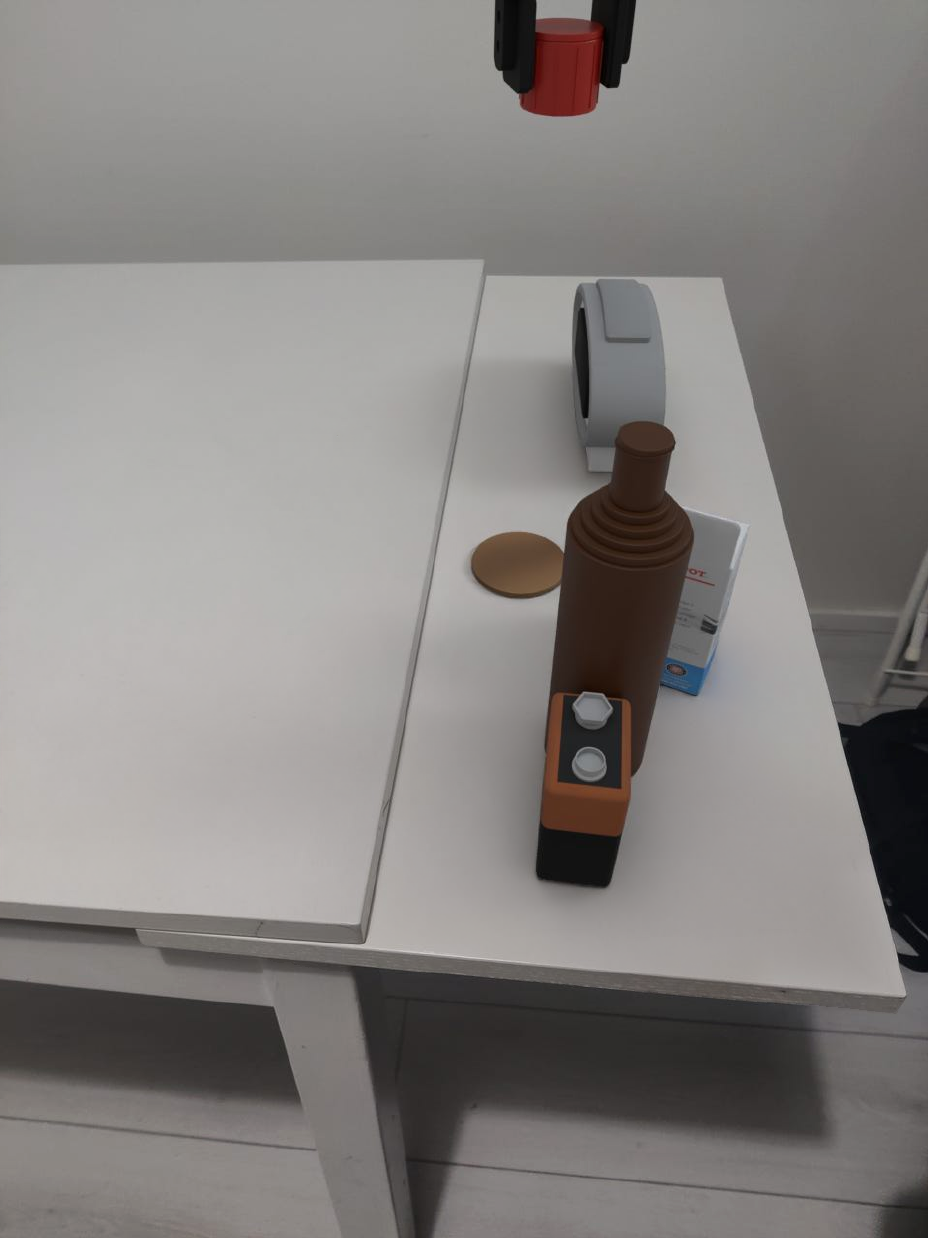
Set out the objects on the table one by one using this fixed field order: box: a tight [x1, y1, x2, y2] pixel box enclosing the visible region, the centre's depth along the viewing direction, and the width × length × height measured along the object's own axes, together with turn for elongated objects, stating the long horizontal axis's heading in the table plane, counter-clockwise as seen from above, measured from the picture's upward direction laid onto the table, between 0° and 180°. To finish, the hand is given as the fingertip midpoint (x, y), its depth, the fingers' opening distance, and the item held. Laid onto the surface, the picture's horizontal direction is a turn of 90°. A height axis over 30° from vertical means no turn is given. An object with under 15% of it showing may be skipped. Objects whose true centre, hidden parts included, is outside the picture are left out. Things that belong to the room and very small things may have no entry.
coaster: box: [470, 531, 564, 599], centre depth 70 cm, size 8×8×1 cm
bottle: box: [543, 421, 694, 778], centre depth 49 cm, size 6×6×24 cm
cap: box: [518, 17, 604, 118], centre depth 44 cm, size 4×4×4 cm
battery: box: [535, 692, 632, 888], centre depth 49 cm, size 4×7×10 cm, turn 172°
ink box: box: [660, 505, 750, 696], centre depth 58 cm, size 8×5×15 cm, turn 63°
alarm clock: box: [571, 278, 667, 473], centre depth 81 cm, size 23×6×13 cm, turn 178°
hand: (560, 79), depth 44 cm, fingers closed on cap, 3 cm apart
